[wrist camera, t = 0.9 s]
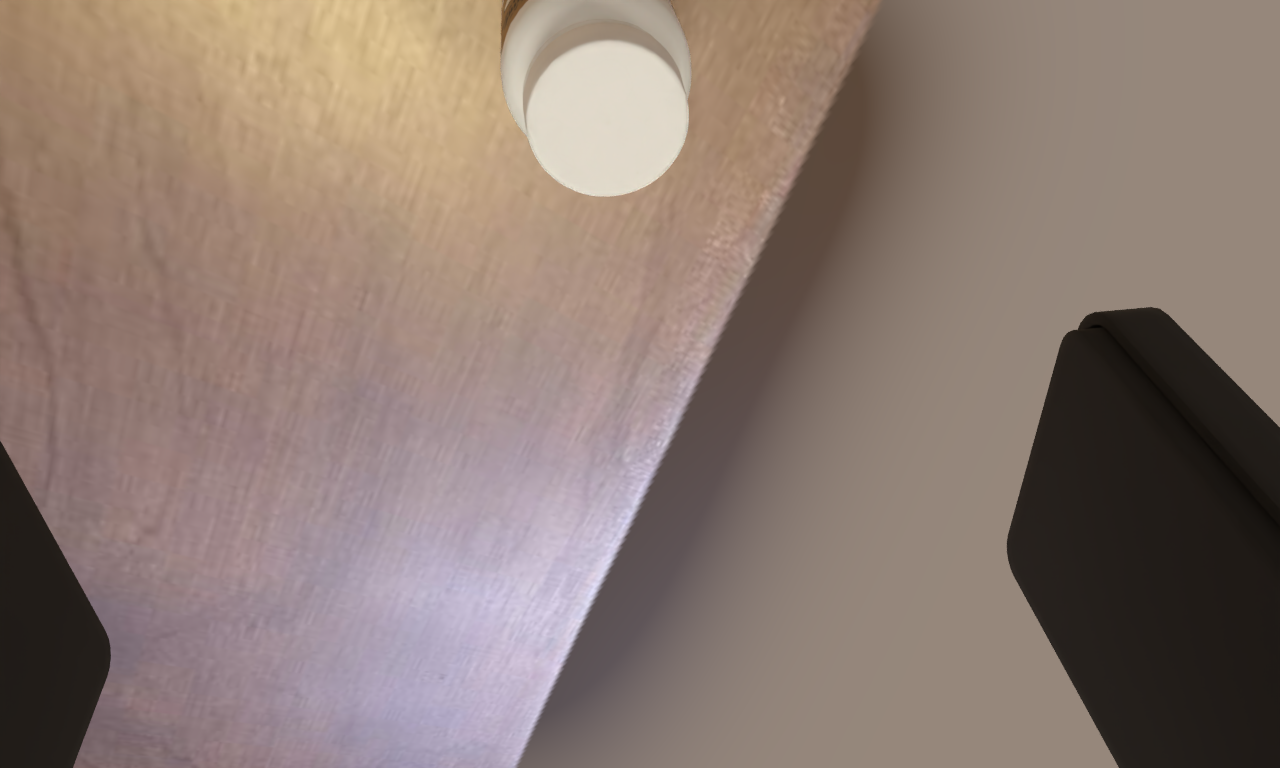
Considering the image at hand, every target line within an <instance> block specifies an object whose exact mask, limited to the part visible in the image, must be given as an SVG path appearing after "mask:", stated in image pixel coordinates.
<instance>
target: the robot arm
mask: <svg viewBox="0 0 1280 768" xmlns="http://www.w3.org/2000/svg"><path fill="white" fill-rule="evenodd" d="M1007 554H1008V561H1009V564H1010V568H1011V570H1012V573H1013V575H1014V577H1015V579H1016V581H1017V582H1018V584H1019V586H1020V588H1021V590H1022V592H1023V594H1024V595H1025V597H1026V599H1027V601H1028V603H1029V604H1030V606H1031V608H1032V610H1033V612H1034V614H1035V616H1036V617H1037V619H1038V621H1039V623H1040V625H1041V626H1042V628H1043V630H1044V632H1045V634H1046V635H1047V637H1048V639H1049V641H1050V643H1051V645H1052V646H1053V648H1054V650H1055V652H1056V654H1057V656H1058V657H1059V659H1060V661H1061V663H1062V665H1063V666H1064V668H1065V670H1066V672H1067V674H1068V676H1069V677H1070V679H1071V681H1072V683H1073V685H1074V687H1075V688H1076V690H1077V692H1078V694H1079V696H1080V697H1081V699H1082V701H1083V703H1084V705H1085V706H1086V708H1087V710H1088V712H1089V714H1090V716H1091V717H1092V719H1093V721H1094V723H1095V725H1096V727H1097V728H1098V730H1099V732H1100V734H1101V736H1102V738H1103V739H1104V741H1105V743H1106V745H1107V747H1108V748H1109V750H1110V752H1111V754H1112V756H1113V757H1114V759H1115V761H1116V763H1117V765H1118V767H1119V768H1280V427H1278V425H1277V424H1276V423H1275V422H1274V421H1273V420H1272V419H1271V418H1270V417H1269V416H1267V414H1266V413H1265V412H1264V411H1263V410H1262V409H1261V408H1260V407H1259V406H1258V405H1257V404H1256V403H1255V402H1254V401H1253V400H1252V399H1251V398H1250V397H1249V396H1248V395H1247V394H1246V393H1245V392H1244V391H1243V390H1242V389H1241V388H1240V387H1239V386H1238V385H1237V384H1236V383H1235V382H1234V381H1233V380H1232V379H1231V378H1230V377H1229V376H1228V375H1227V374H1226V373H1225V372H1224V371H1223V370H1222V369H1221V368H1220V367H1219V366H1218V365H1217V364H1216V363H1215V362H1214V361H1213V360H1212V359H1211V358H1210V357H1209V356H1208V355H1207V354H1206V353H1205V352H1204V351H1203V350H1202V349H1201V348H1200V347H1199V346H1198V345H1197V344H1196V343H1195V342H1194V340H1193V339H1192V338H1190V337H1189V335H1187V333H1186V332H1184V330H1182V328H1180V326H1179V325H1178V324H1177V323H1176V322H1175V321H1174V320H1173V319H1172V318H1171V317H1170V316H1169V315H1168V314H1166V313H1165V312H1163V311H1162V310H1161V309H1158V308H1152V307H1148V308H1137V309H1126V310H1115V311H1104V312H1094V313H1092V314H1090V315H1087V316H1086V317H1085V318H1084V319H1083V321H1082V322H1081V323H1080V326H1079V328H1078V330H1073V331H1070V332H1068V333H1067V334H1066V335H1065V337H1064V338H1063V340H1062V343H1061V345H1060V348H1059V352H1058V356H1057V360H1056V363H1055V367H1054V370H1053V374H1052V377H1051V381H1050V385H1049V389H1048V392H1047V396H1046V399H1045V403H1044V407H1043V410H1042V414H1041V418H1040V421H1039V425H1038V428H1037V432H1036V436H1035V439H1034V443H1033V446H1032V450H1031V454H1030V457H1029V461H1028V465H1027V468H1026V472H1025V475H1024V479H1023V483H1022V486H1021V490H1020V494H1019V497H1018V501H1017V504H1016V508H1015V512H1014V515H1013V519H1012V523H1011V526H1010V530H1009V534H1008V539H1007ZM110 659H111V654H110V643H109V638H108V636H107V633H106V631H105V629H104V627H103V626H102V624H101V622H100V620H99V618H98V617H97V615H96V613H95V611H94V609H93V607H92V606H91V604H90V602H89V600H88V598H87V597H86V595H85V593H84V591H83V589H82V588H81V586H80V584H79V582H78V580H77V579H76V577H75V575H74V573H73V571H72V569H71V568H70V566H69V564H68V562H67V560H66V559H65V557H64V555H63V553H62V551H61V550H60V548H59V546H58V544H57V542H56V540H55V539H54V537H53V535H52V533H51V531H50V530H49V528H48V526H47V524H46V522H45V521H44V519H43V517H42V515H41V513H40V512H39V510H38V508H37V506H36V504H35V502H34V501H33V499H32V497H31V495H30V493H29V492H28V490H27V488H26V486H25V484H24V483H23V481H22V479H21V477H20V475H19V473H18V472H17V470H16V468H15V466H14V464H13V463H12V461H11V459H10V457H9V455H8V454H7V452H6V450H5V448H4V446H3V445H2V443H1V442H0V768H73V766H74V763H75V760H76V758H77V755H78V752H79V750H80V747H81V744H82V742H83V739H84V736H85V734H86V731H87V728H88V726H89V723H90V721H91V718H92V715H93V713H94V710H95V707H96V705H97V702H98V699H99V697H100V694H101V691H102V689H103V686H104V684H105V681H106V678H107V675H108V671H109V668H110Z"/></svg>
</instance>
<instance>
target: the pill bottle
mask: <svg viewBox="0 0 1280 768" xmlns="http://www.w3.org/2000/svg"><path fill="white" fill-rule="evenodd" d="M500 53H501V79H502V88H503V92H504V96H505V100H506V103H507V105H508V108H509V110H510V113H511V115H512V117H513V118H514V120H515V122H516V123H517V125H518V126H519V128H520V129H521V130H522V132H523V133H524V134H525V135H526V136H527V137H528V141H529V144H530V146H531V149H532V151H533V153H534V155H535V157H536V158H537V160H538V162H539V163H540V165H541V166H542V167H543V169H544V170H545V171H546V172H547V173H548V174H549V175H550V176H552V177H553V178H554V179H555V180H556V181H558V182H559V183H561V184H562V185H564V186H566V187H567V188H569V189H572V190H574V191H576V192H579V193H582V194H586V195H591V196H601V197H607V196H618V195H624V194H628V193H631V192H634V191H637V190H639V189H641V188H644V187H645V186H647V185H649V184H650V183H652V182H653V181H655V180H656V179H658V178H659V177H660V176H661V175H662V174H663V173H664V172H665V171H666V170H667V169H668V168H669V167H670V166H671V164H672V163H673V162H674V160H675V159H676V158H677V156H678V154H679V153H680V150H681V148H682V146H683V144H684V142H685V139H686V135H687V132H688V122H689V106H688V96H689V92H690V86H691V57H690V51H689V47H688V44H687V41H686V38H685V34H684V32H683V29H682V27H681V25H680V22H679V20H678V18H677V16H676V14H675V12H674V9H673V7H672V5H671V2H670V0H503V3H502V12H501V51H500Z"/></svg>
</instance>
